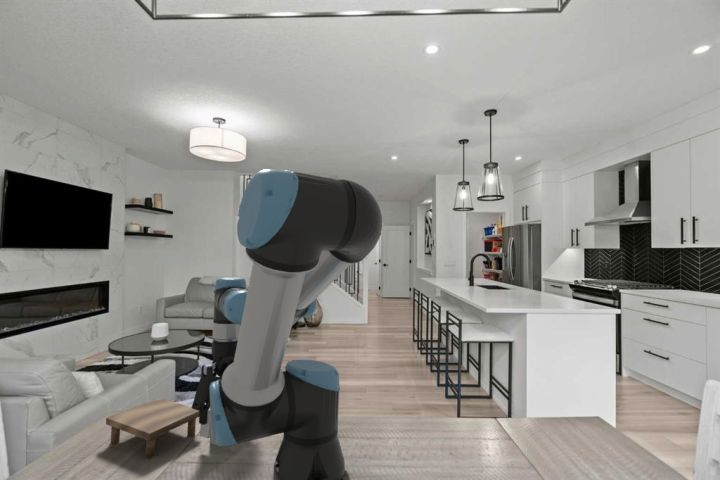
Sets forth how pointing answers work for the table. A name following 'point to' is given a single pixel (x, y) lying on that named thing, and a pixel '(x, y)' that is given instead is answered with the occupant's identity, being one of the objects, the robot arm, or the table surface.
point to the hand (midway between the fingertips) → (223, 426)
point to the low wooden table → (152, 421)
